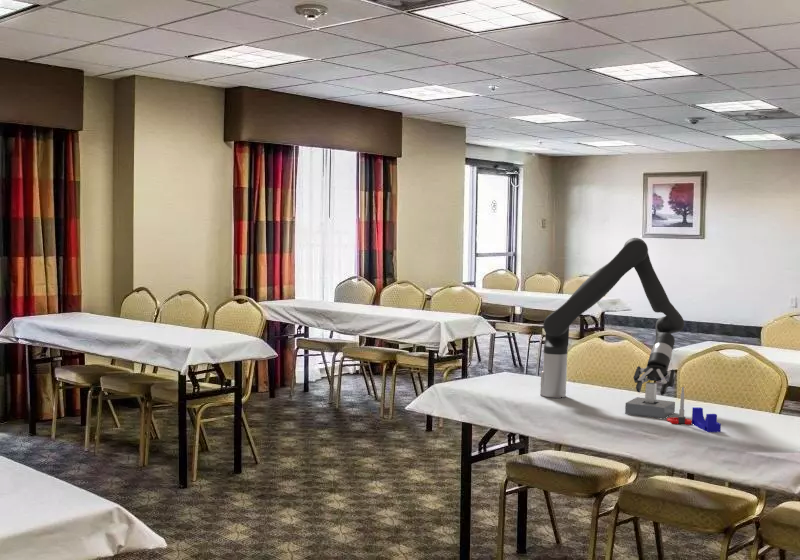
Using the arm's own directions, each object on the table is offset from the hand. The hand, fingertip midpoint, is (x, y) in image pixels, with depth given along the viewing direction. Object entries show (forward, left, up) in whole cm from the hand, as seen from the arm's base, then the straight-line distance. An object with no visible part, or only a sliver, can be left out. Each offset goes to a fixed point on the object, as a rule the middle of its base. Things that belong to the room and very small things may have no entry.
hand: (649, 392), depth 316 cm
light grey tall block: (0, +1, -8) cm, 8 cm away
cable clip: (+23, -11, -8) cm, 26 cm away
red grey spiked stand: (+13, -7, -8) cm, 16 cm away
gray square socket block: (0, +1, -8) cm, 8 cm away
